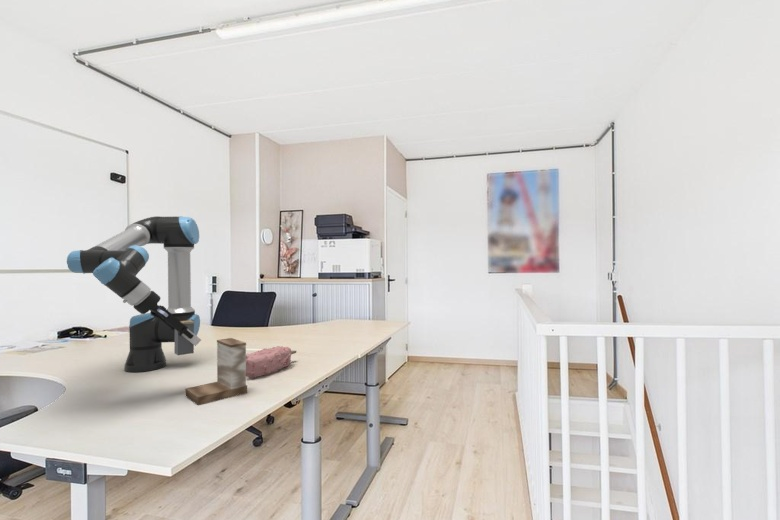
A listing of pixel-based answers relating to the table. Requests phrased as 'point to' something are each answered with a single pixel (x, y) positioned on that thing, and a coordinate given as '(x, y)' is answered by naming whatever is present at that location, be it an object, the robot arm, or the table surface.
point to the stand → (224, 374)
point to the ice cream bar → (267, 361)
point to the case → (184, 340)
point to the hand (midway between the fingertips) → (195, 341)
